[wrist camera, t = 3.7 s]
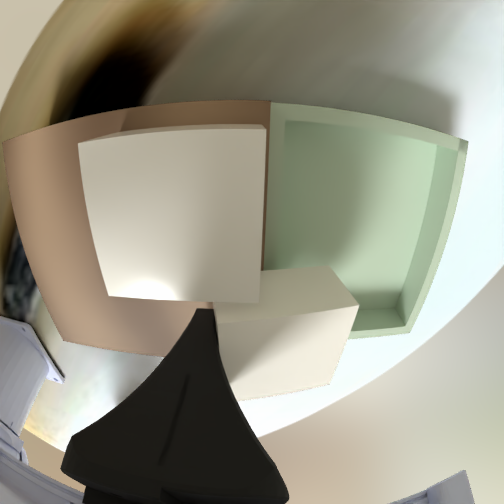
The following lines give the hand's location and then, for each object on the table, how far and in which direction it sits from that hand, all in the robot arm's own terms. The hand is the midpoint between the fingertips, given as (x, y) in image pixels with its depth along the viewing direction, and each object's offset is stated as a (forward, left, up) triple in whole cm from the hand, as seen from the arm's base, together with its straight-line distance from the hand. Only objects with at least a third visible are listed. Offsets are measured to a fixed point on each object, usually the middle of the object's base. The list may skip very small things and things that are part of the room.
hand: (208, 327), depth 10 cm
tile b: (-1, +5, -1) cm, 5 cm away
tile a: (+2, 0, -1) cm, 2 cm away
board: (-4, +2, -4) cm, 6 cm away
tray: (+6, +2, -4) cm, 8 cm away
